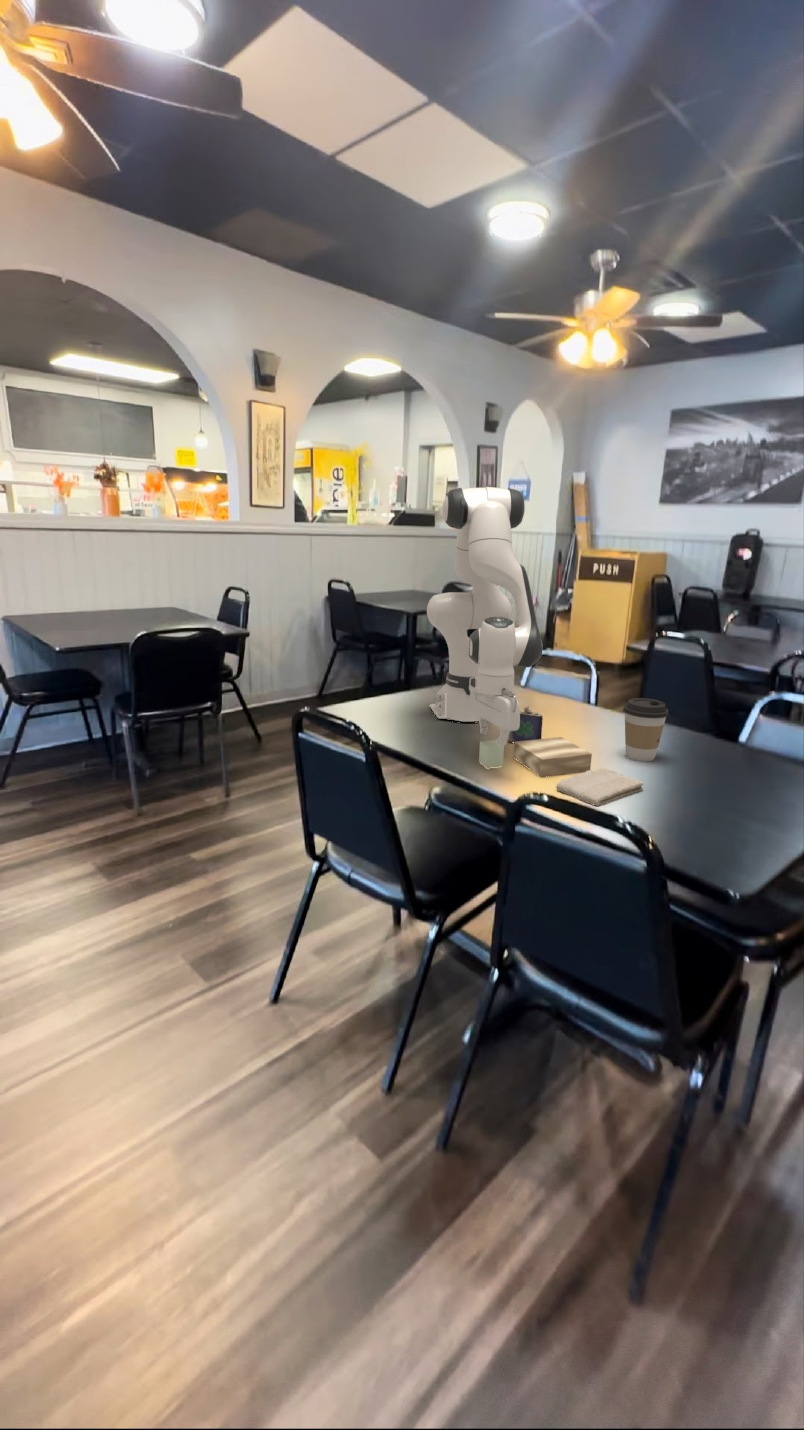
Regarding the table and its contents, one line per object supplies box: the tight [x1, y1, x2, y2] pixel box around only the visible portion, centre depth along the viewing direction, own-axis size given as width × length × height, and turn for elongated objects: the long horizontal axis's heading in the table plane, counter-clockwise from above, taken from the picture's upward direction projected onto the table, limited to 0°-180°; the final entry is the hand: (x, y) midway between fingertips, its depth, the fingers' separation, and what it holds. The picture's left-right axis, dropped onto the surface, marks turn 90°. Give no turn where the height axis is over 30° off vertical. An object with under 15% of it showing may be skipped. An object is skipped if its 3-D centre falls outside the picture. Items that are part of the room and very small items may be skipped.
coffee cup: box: [622, 697, 670, 763], centre depth 175 cm, size 11×11×15 cm
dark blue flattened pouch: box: [507, 705, 544, 743], centre depth 185 cm, size 9×3×11 cm, turn 65°
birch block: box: [512, 736, 593, 778], centre depth 170 cm, size 14×14×5 cm
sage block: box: [478, 739, 505, 768], centre depth 169 cm, size 4×4×6 cm
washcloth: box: [555, 768, 644, 807], centre depth 155 cm, size 12×18×3 cm, turn 127°
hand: (492, 738), depth 167 cm, fingers open, 8 cm apart
